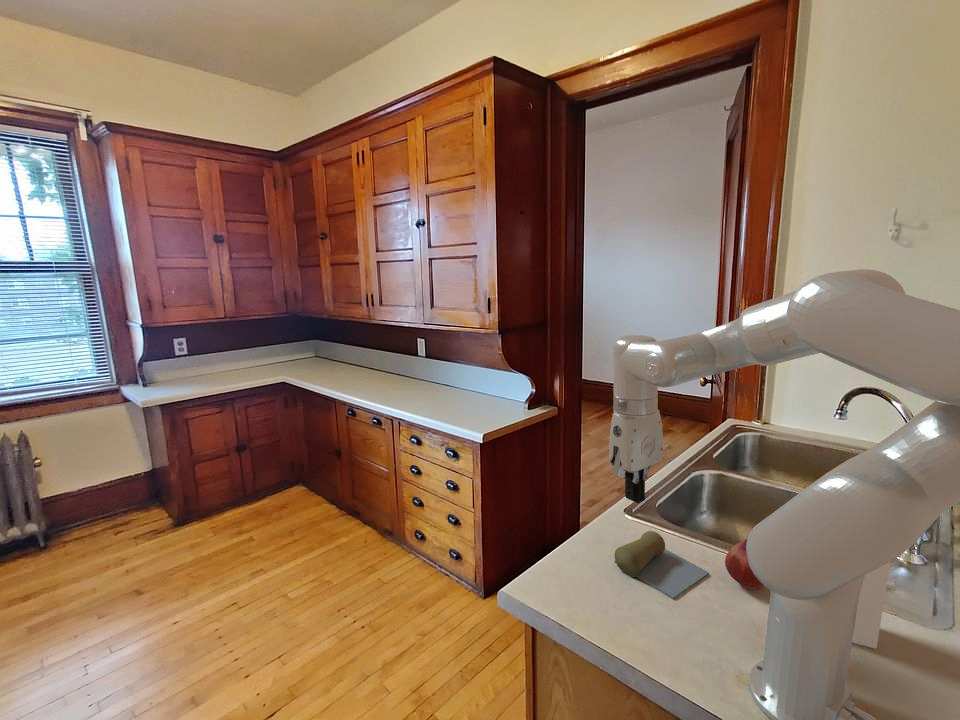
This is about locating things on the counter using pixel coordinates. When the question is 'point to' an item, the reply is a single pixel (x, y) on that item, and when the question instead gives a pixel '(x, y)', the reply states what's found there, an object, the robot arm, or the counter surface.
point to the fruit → (741, 567)
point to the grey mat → (671, 574)
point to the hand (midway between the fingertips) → (634, 499)
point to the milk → (871, 607)
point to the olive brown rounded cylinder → (639, 553)
